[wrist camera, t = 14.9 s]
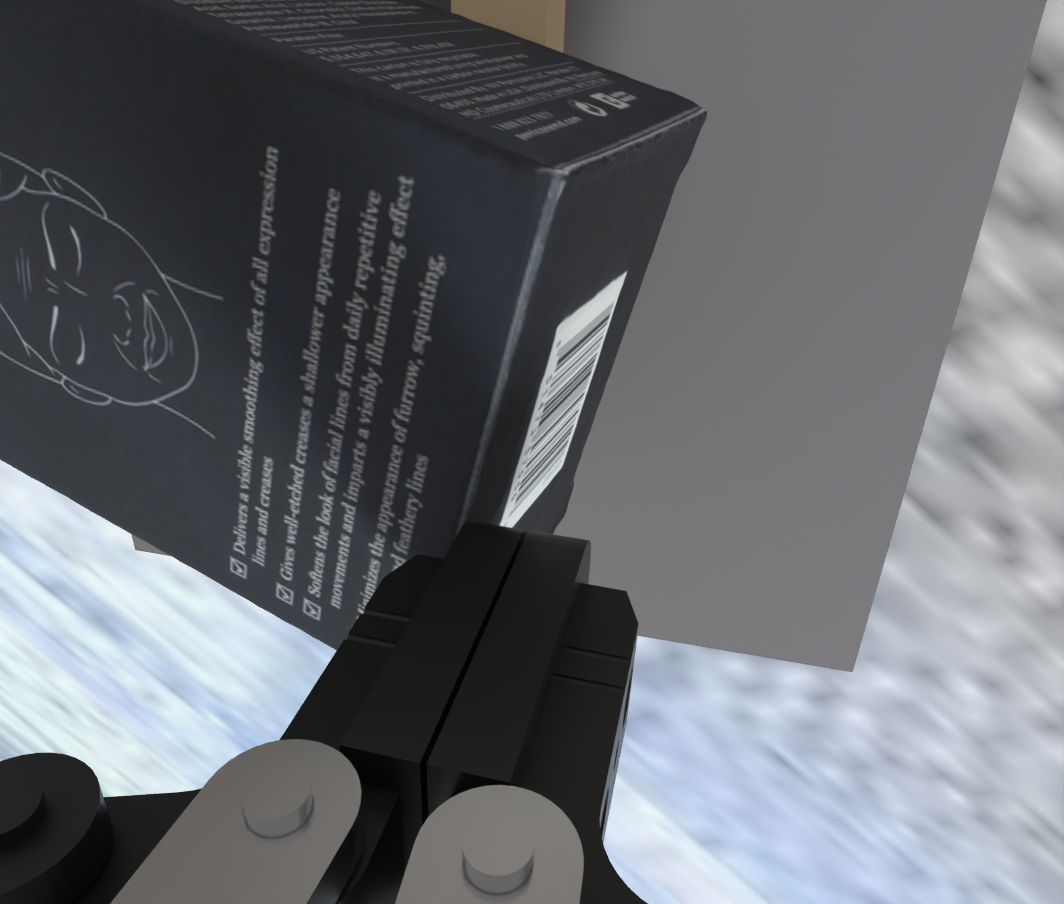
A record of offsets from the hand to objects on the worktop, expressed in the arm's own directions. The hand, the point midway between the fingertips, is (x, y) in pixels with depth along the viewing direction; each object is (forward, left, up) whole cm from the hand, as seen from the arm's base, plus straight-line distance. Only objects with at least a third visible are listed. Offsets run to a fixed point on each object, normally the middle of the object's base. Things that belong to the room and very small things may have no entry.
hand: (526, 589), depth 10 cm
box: (0, -1, -3) cm, 3 cm away
